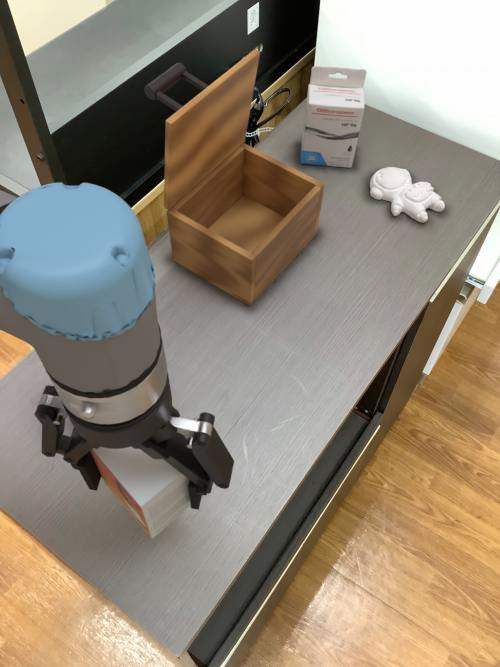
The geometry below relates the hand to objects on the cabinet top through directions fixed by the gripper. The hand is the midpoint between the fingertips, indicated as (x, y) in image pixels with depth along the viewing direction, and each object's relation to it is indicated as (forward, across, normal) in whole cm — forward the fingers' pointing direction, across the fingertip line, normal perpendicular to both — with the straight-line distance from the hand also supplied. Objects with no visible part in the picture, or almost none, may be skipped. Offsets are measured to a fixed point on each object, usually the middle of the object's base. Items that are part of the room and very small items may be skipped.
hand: (147, 486), depth 62 cm
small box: (+2, 0, 0) cm, 2 cm away
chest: (+9, +3, +40) cm, 42 cm away
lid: (-8, -2, +43) cm, 44 cm away
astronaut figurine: (+9, +25, +55) cm, 61 cm away
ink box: (+9, +12, +62) cm, 64 cm away
